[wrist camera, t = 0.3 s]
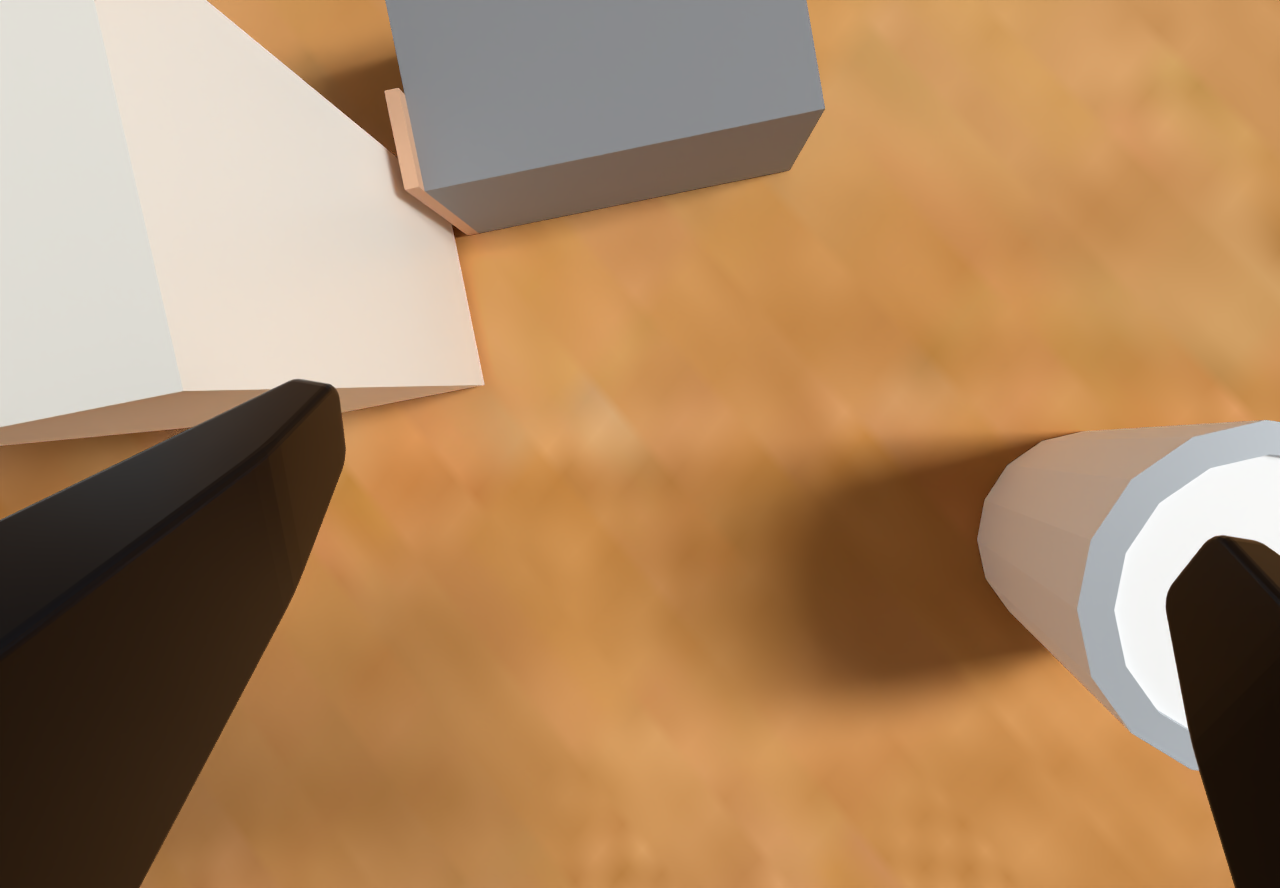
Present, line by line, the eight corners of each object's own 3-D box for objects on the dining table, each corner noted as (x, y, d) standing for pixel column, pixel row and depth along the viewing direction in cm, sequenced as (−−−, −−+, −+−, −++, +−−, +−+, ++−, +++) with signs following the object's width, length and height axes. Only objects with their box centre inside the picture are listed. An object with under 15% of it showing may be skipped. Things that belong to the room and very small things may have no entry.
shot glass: (1154, 365, 22) (1377, 357, 15) (1253, 598, 23) (1515, 695, 16) (913, 473, 23) (1022, 515, 16) (1014, 701, 23) (1165, 839, 16)
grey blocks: (789, 170, 22) (828, 101, 17) (-3, 330, 23) (-206, 316, 18) (755, -24, 22) (783, -157, 16) (-47, 148, 23) (-267, 77, 17)
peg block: (484, 384, 22) (182, 390, 9) (340, 413, 23) (-185, 464, 9) (446, 197, 22) (69, -114, 8) (300, 228, 22) (-313, -28, 8)
